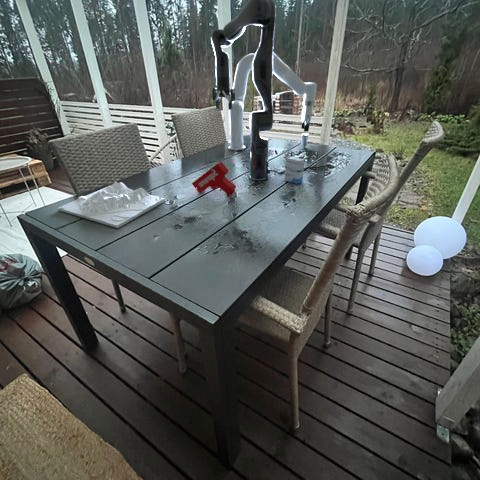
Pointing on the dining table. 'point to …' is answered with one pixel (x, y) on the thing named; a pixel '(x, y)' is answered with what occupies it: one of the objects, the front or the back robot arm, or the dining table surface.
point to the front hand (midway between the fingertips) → (224, 109)
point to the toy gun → (215, 180)
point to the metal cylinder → (304, 141)
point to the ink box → (294, 170)
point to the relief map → (113, 205)
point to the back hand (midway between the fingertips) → (304, 130)
